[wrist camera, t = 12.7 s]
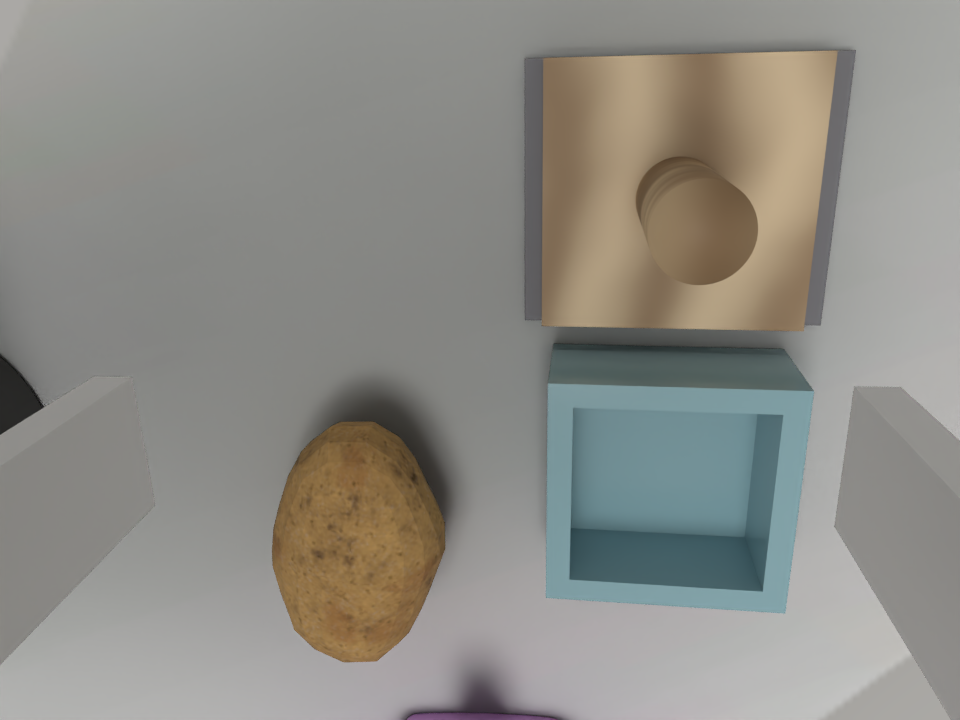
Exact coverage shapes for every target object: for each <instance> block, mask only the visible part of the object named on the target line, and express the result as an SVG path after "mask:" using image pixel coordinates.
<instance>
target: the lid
mask: <svg viewBox="0 0 960 720" xmlns="http://www.w3.org/2000/svg"><path fill="white" fill-rule="evenodd" d="M837 53H838V50H835V51H795V52H756V53H716V54H677V55H637V56H598V57H558V58H543V201H542V326H564V327H615V328H665V329H716V330H767V331H804V324H805V316H806V307H807V299H808V291H809V283H810V274H811V266H812V258H813V250H814V242H815V233H816V225H817V217H818V209H819V201H820V192H821V184H822V176H823V168H824V160H825V151H826V143H827V135H828V127H829V119H830V110H831V102H832V94H833V86H834V77H835V69H836V61H837Z"/></svg>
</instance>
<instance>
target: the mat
mask: <svg viewBox="0 0 960 720" xmlns="http://www.w3.org/2000/svg"><path fill="white" fill-rule="evenodd" d="M855 54H856V50H844V51H838V53H837V61H836V69H835V77H834V86H833V94H832V102H831V110H830V119H829V127H828V135H827V143H826V151H825V160H824V168H823V176H822V184H821V192H820V201H819V209H818V217H817V225H816V233H815V242H814V250H813V258H812V266H811V274H810V283H809V291H808V299H807V307H806V316H805V324H804V325H821V318H822V310H823V302H824V295H825V287H826V279H827V271H828V264H829V256H830V248H831V240H832V232H833V225H834V217H835V209H836V201H837V194H838V186H839V178H840V170H841V163H842V155H843V147H844V139H845V132H846V124H847V116H848V108H849V101H850V93H851V85H852V77H853V70H854V62H855ZM542 201H543V58H528V59H525V320H542Z"/></svg>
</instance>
